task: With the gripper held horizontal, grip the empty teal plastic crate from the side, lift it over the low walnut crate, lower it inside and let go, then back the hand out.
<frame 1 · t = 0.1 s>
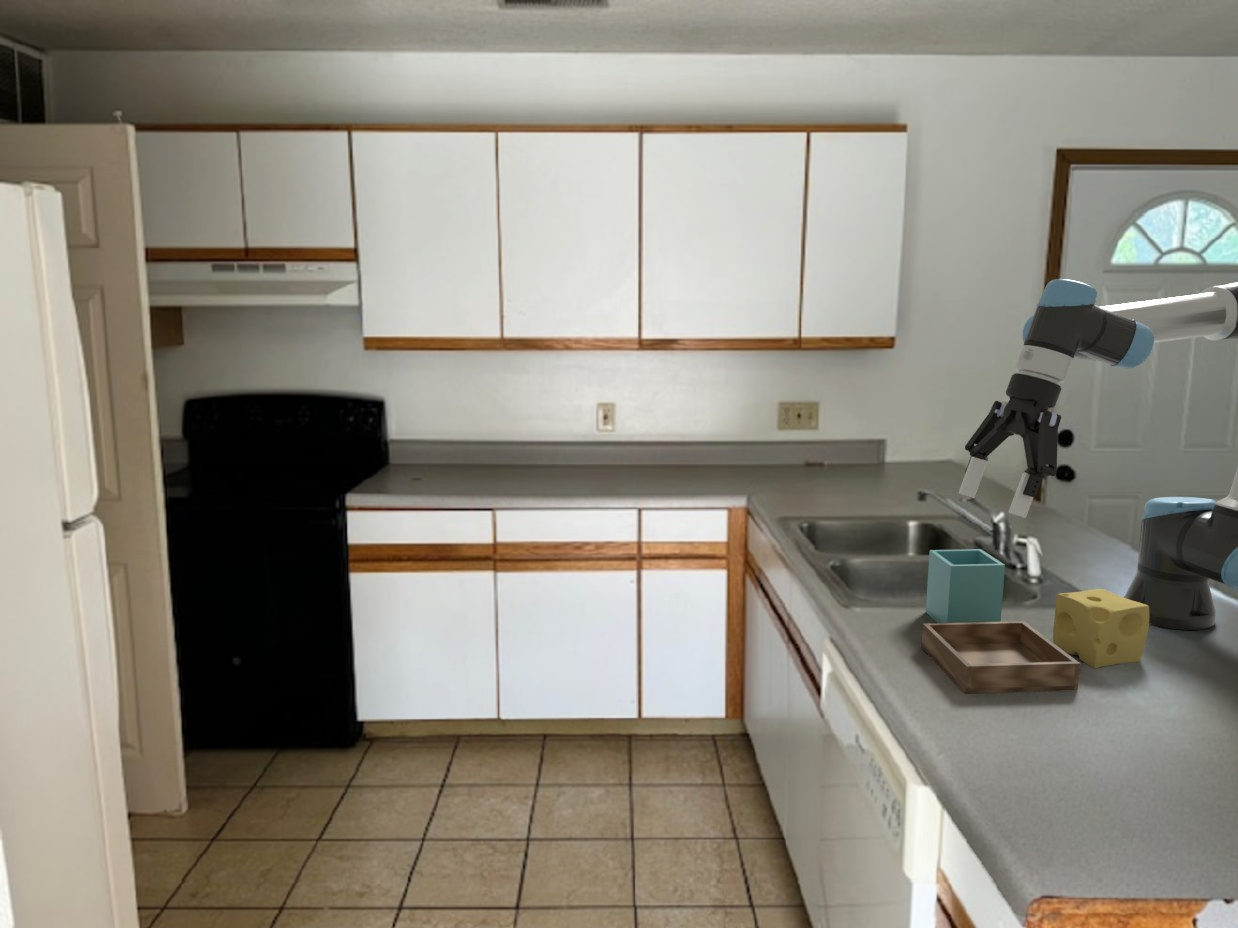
hand: (990, 505, 144), 28 cm above the worktop, tool tilted 20°, fingers open, 13 cm apart
walnut crate: (995, 667, 149), on the worktop
teal crate: (961, 620, 170), on the worktop
cheese: (1095, 654, 155), on the worktop
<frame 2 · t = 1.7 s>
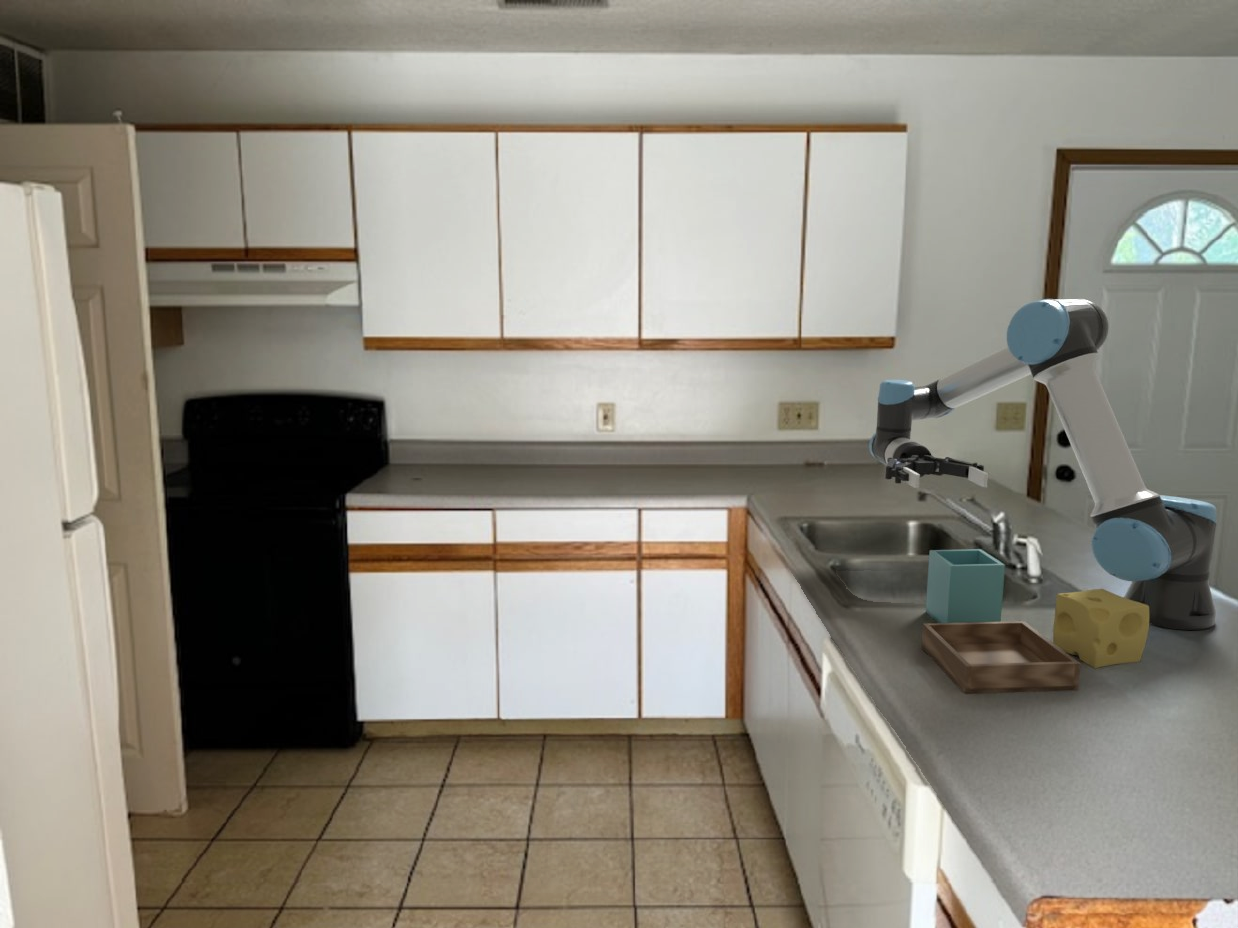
hand: (951, 481, 173), 25 cm above the worktop, tool horizontal, fingers open, 13 cm apart
nothing on the worktop moved.
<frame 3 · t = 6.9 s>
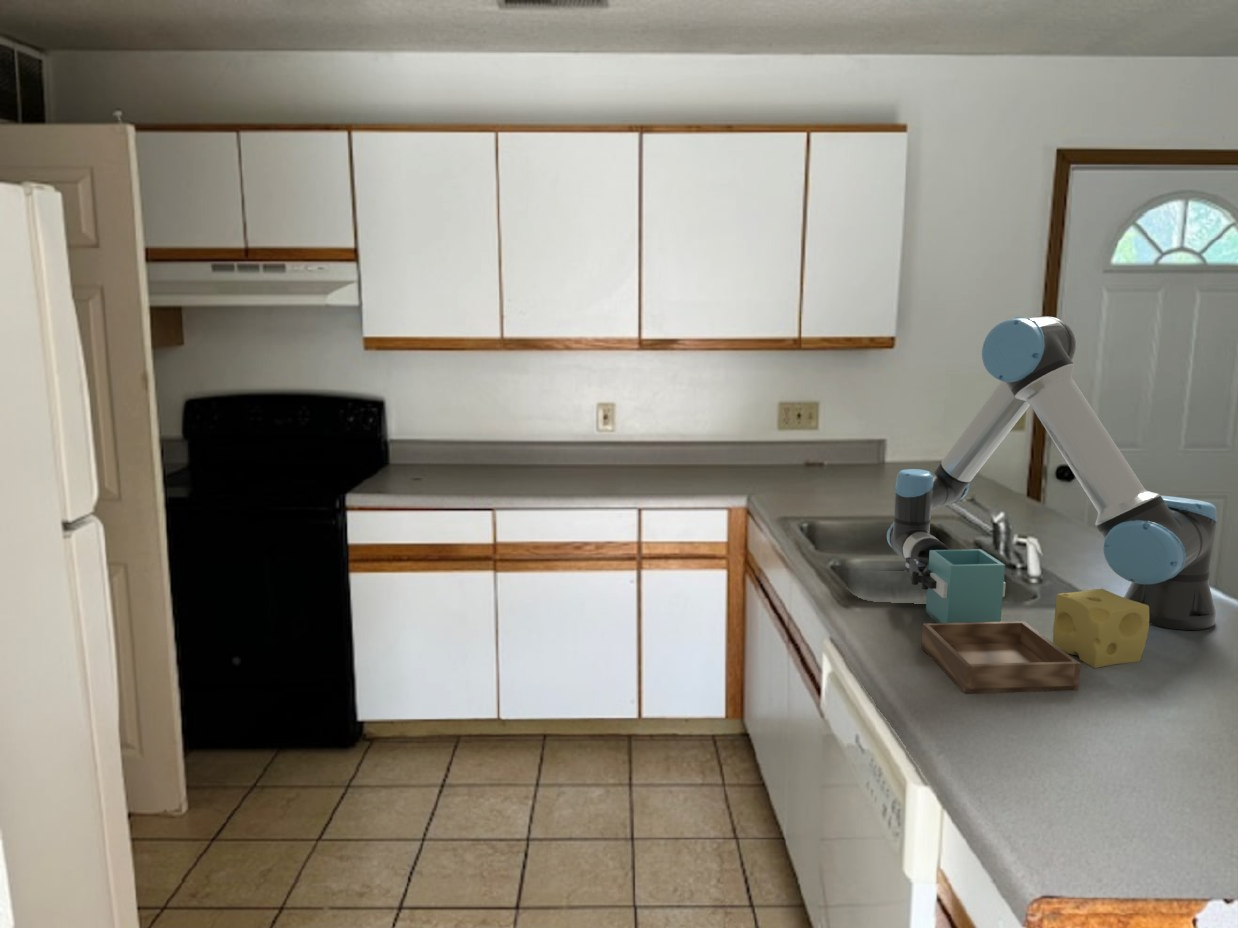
hand: (974, 590, 164), 8 cm above the worktop, tool horizontal, fingers closed on teal crate, 10 cm apart
teal crate: (961, 620, 170), on the worktop, touching gripper
everything else where it was.
when the fingers open (10 cm above the worktop, at t = 12.6 s): teal crate drops 2 cm, resting on walnut crate.
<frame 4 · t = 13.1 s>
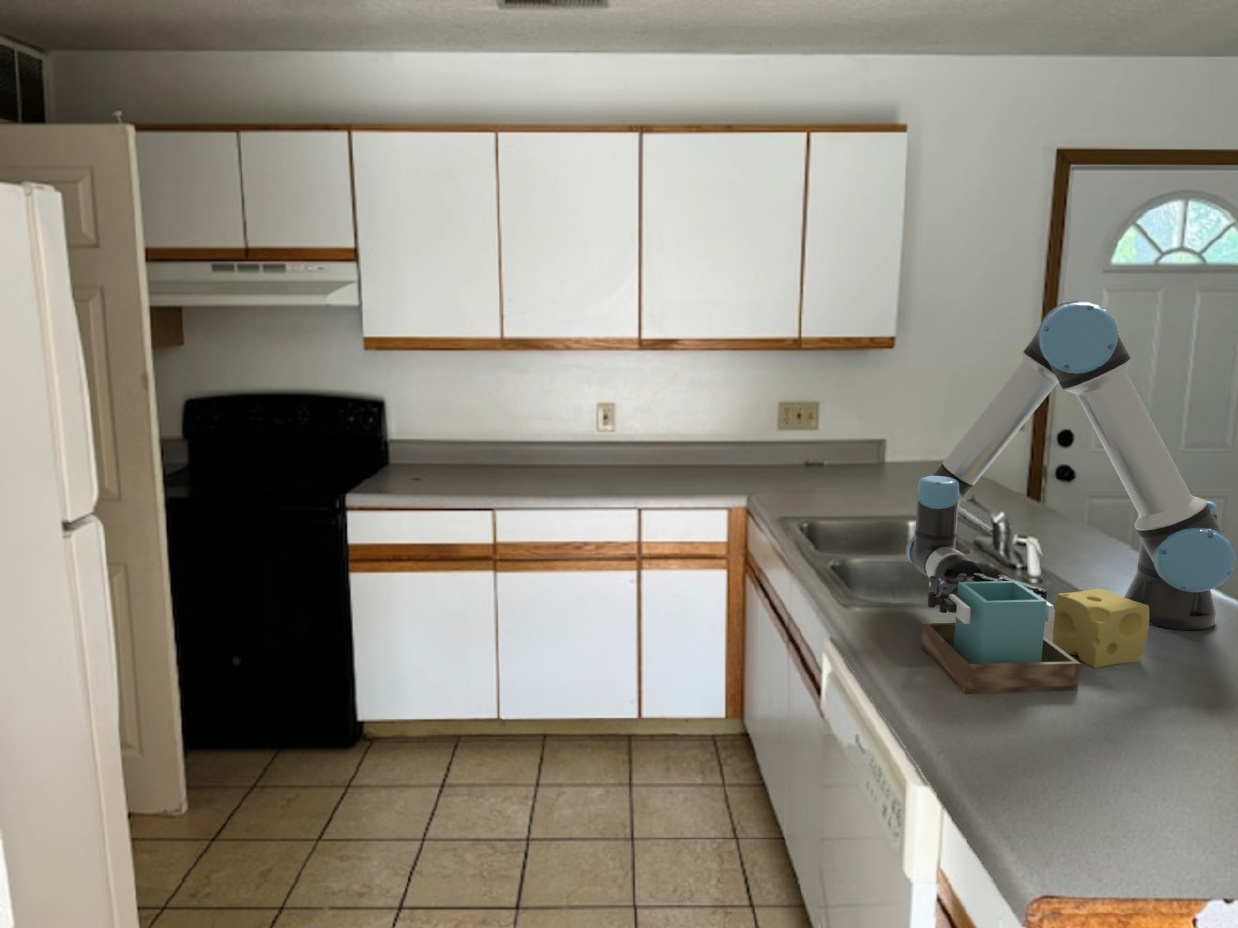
hand: (1009, 615, 143), 10 cm above the worktop, tool horizontal, fingers open, 13 cm apart
teal crate: (995, 663, 149), point 1 cm above the worktop, touching walnut crate
everything else where it was.
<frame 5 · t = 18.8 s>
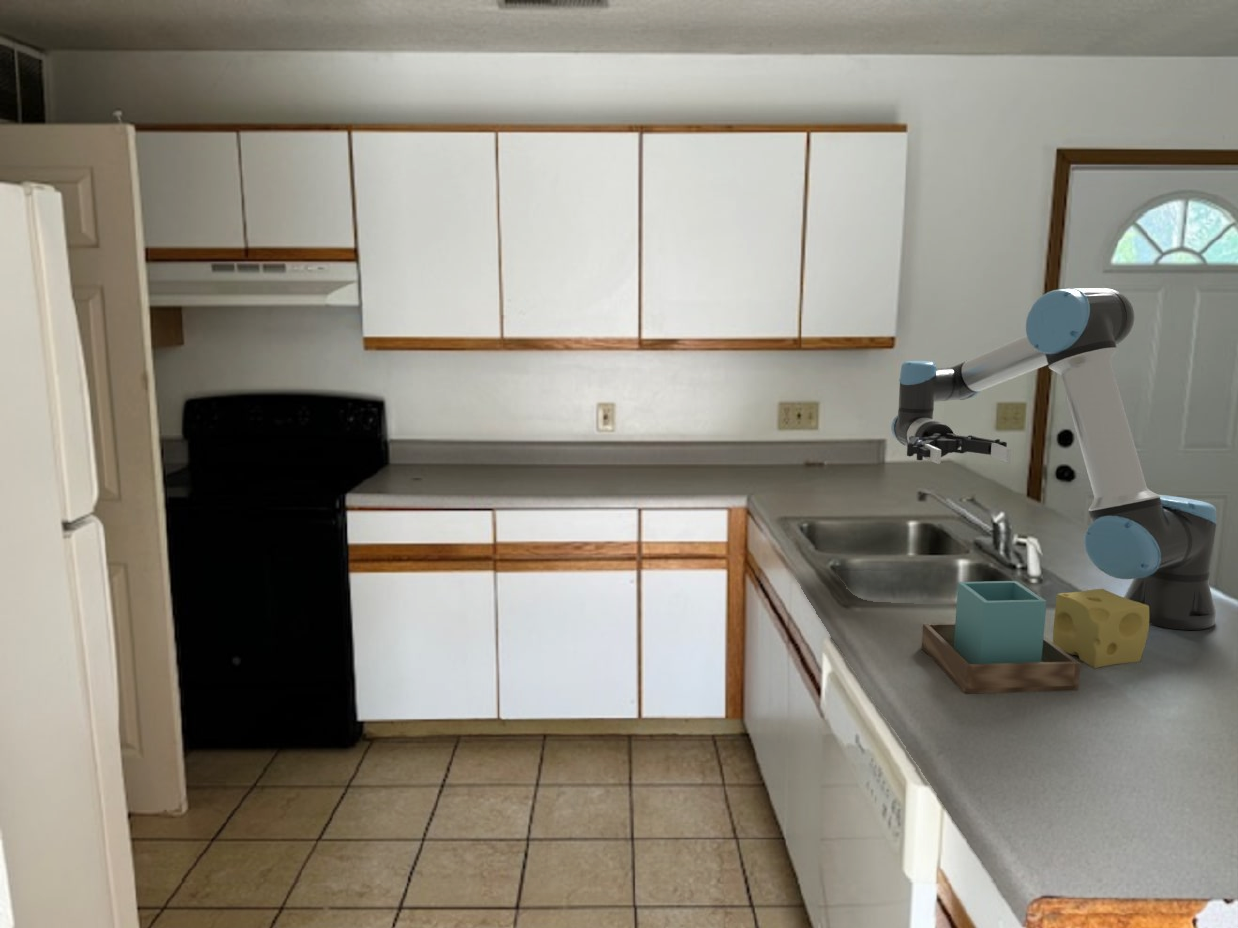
hand: (973, 456, 173), 30 cm above the worktop, tool horizontal, fingers open, 13 cm apart
nothing on the worktop moved.
at the end: teal crate 0.1 cm from the walnut crate (horizontally); teal crate point 0.8 cm above the worktop; teal crate tilted 0° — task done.
